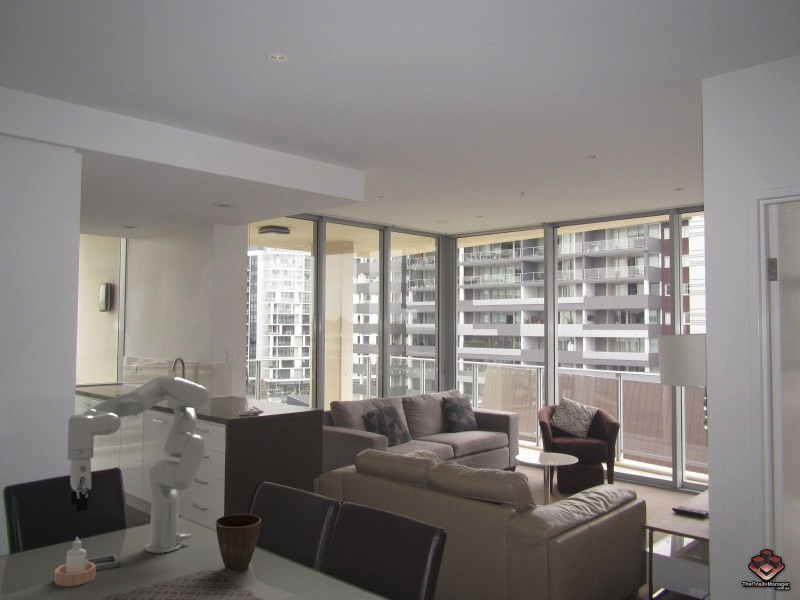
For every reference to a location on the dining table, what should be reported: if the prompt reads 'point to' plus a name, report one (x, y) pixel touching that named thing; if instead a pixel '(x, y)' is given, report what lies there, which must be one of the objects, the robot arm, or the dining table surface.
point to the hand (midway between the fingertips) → (78, 507)
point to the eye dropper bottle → (76, 558)
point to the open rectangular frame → (105, 558)
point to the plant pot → (237, 539)
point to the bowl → (75, 575)
